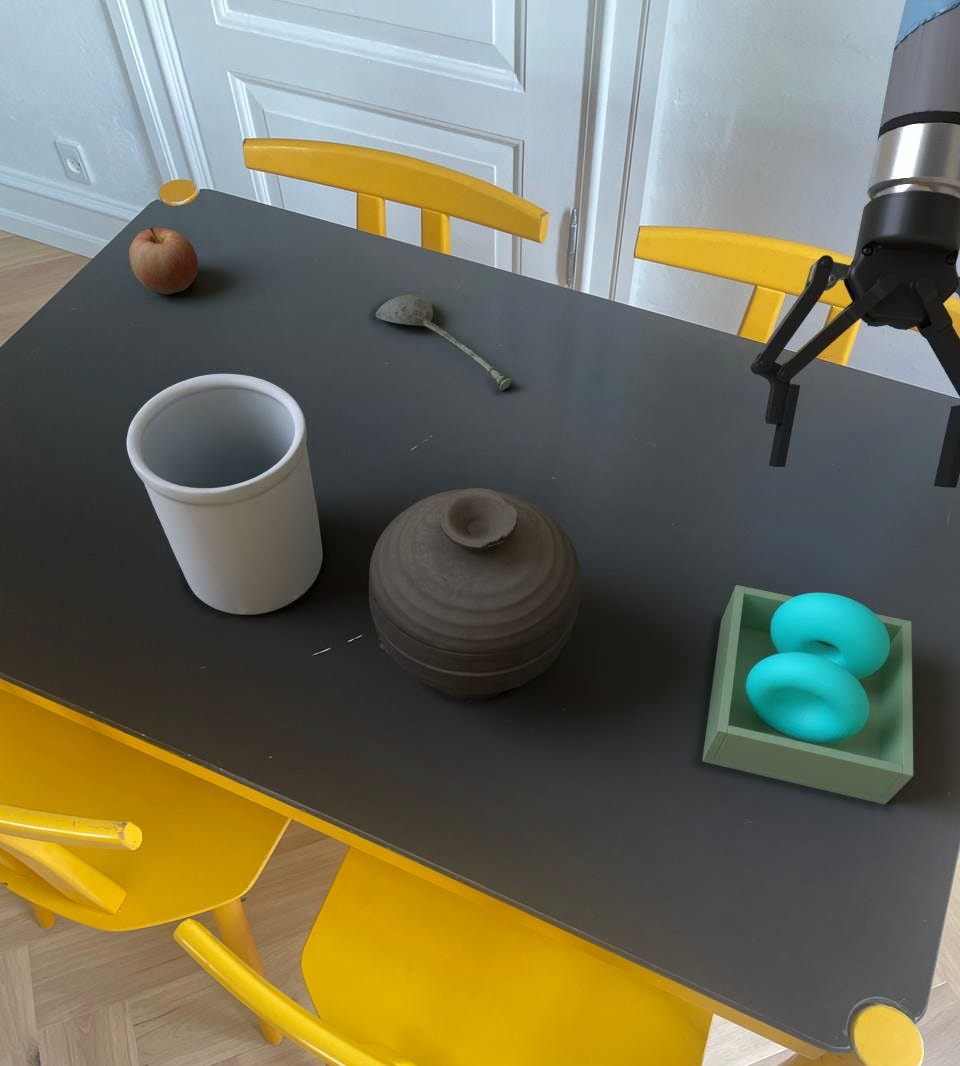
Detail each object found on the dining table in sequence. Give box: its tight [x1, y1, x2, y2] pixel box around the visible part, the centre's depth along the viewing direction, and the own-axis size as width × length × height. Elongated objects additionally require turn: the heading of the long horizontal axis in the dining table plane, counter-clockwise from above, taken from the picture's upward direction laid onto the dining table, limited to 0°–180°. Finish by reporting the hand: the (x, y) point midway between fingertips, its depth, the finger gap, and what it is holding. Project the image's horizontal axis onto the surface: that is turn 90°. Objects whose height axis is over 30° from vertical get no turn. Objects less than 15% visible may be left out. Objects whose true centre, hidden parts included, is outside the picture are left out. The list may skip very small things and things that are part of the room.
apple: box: [128, 226, 199, 295], centre depth 111 cm, size 8×8×8 cm
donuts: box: [746, 592, 890, 743], centre depth 76 cm, size 10×10×10 cm
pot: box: [368, 487, 581, 701], centre depth 76 cm, size 18×18×20 cm
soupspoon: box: [375, 294, 513, 391], centre depth 107 cm, size 22×3×7 cm
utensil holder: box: [126, 373, 323, 616], centre depth 82 cm, size 15×15×18 cm
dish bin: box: [702, 584, 914, 805], centre depth 78 cm, size 16×16×6 cm
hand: (859, 477), depth 73 cm, fingers open, 13 cm apart
